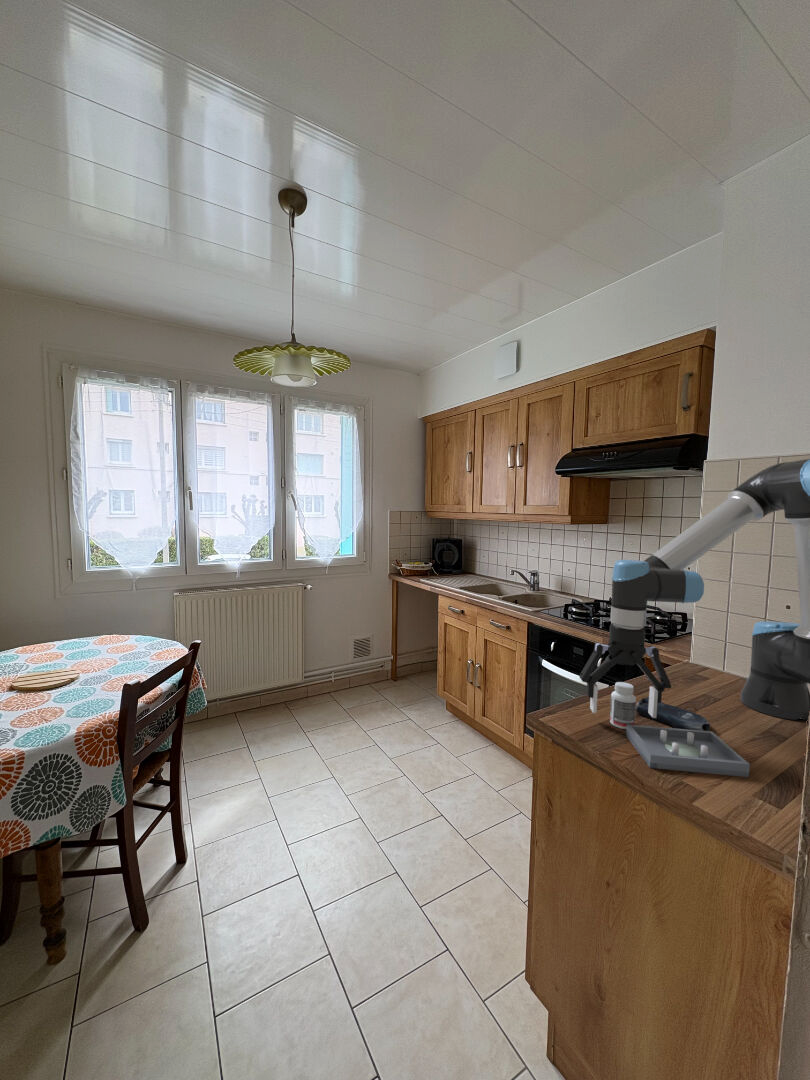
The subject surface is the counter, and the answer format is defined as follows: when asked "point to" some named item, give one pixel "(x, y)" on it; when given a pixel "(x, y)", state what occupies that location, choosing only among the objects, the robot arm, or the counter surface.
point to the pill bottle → (623, 705)
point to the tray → (686, 750)
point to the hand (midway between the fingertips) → (622, 713)
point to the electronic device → (674, 716)
